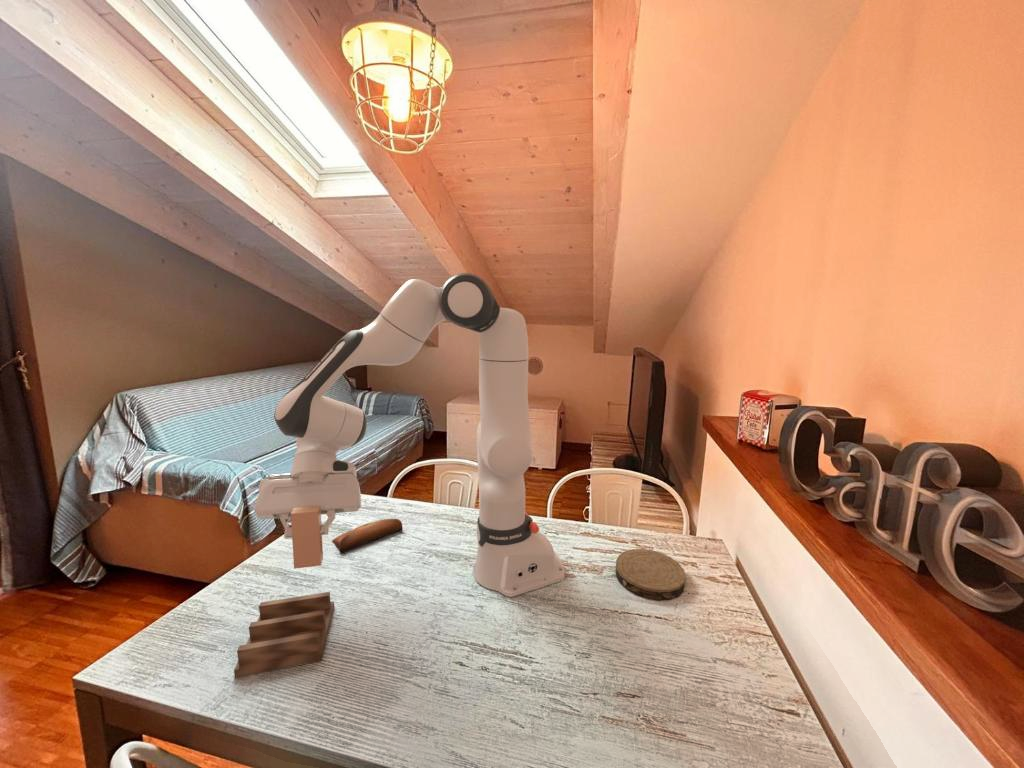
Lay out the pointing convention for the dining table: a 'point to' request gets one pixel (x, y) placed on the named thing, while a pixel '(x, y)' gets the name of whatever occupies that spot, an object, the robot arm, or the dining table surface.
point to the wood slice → (650, 574)
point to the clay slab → (306, 537)
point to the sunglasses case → (366, 533)
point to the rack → (286, 634)
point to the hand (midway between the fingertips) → (306, 536)
